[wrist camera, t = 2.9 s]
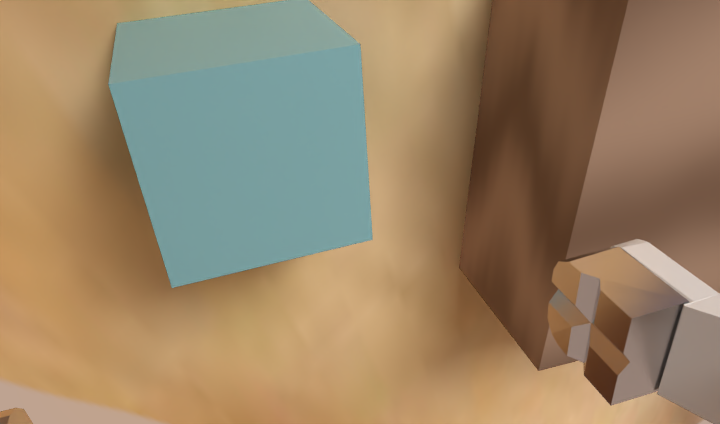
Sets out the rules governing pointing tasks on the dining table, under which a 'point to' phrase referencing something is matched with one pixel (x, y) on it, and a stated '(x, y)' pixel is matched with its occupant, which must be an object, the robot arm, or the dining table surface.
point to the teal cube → (244, 135)
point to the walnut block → (591, 148)
